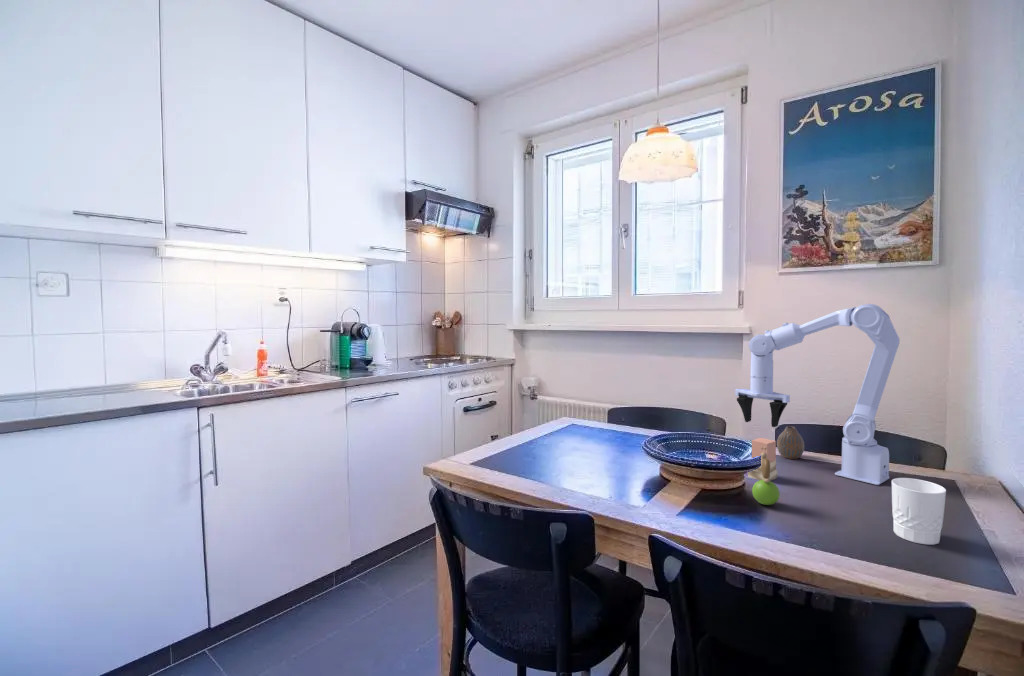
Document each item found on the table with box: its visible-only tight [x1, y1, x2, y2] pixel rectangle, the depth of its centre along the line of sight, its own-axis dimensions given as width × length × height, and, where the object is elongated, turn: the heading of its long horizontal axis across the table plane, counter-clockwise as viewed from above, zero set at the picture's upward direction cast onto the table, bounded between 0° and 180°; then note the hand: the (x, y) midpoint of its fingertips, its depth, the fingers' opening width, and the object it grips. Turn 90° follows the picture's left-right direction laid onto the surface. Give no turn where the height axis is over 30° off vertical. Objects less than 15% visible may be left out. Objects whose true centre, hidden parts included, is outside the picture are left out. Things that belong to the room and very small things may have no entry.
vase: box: [776, 425, 805, 460], centre depth 139 cm, size 7×7×9 cm
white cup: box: [891, 477, 947, 546], centre depth 91 cm, size 8×8×10 cm
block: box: [751, 437, 777, 462], centre depth 123 cm, size 4×4×5 cm
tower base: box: [747, 469, 778, 482], centre depth 123 cm, size 5×5×2 cm
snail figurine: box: [751, 447, 781, 506], centre depth 107 cm, size 5×6×12 cm
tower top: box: [753, 459, 777, 473], centre depth 123 cm, size 5×5×2 cm
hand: (761, 423), depth 136 cm, fingers open, 7 cm apart
